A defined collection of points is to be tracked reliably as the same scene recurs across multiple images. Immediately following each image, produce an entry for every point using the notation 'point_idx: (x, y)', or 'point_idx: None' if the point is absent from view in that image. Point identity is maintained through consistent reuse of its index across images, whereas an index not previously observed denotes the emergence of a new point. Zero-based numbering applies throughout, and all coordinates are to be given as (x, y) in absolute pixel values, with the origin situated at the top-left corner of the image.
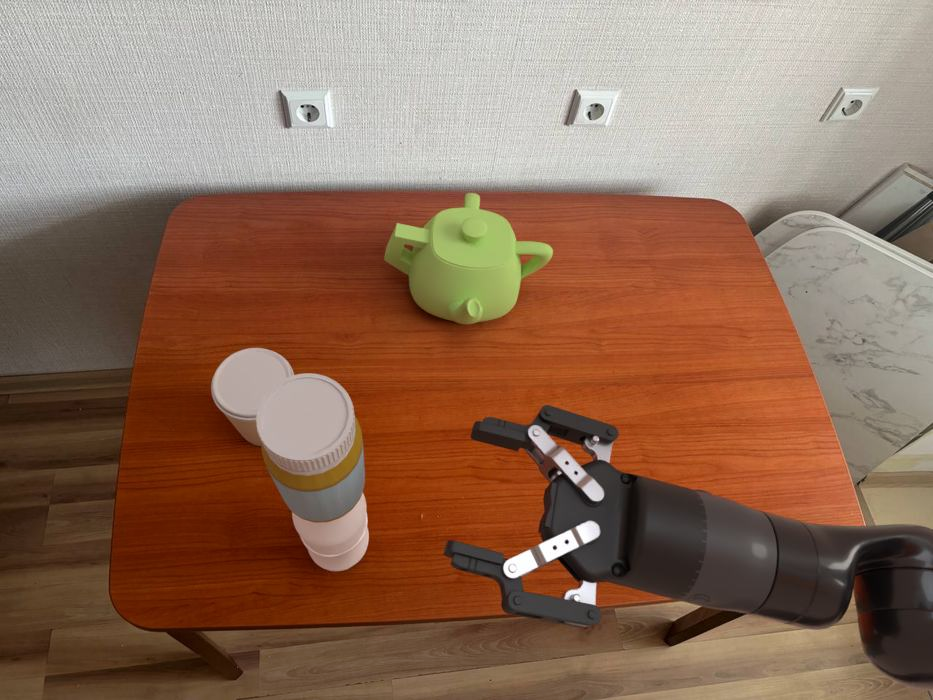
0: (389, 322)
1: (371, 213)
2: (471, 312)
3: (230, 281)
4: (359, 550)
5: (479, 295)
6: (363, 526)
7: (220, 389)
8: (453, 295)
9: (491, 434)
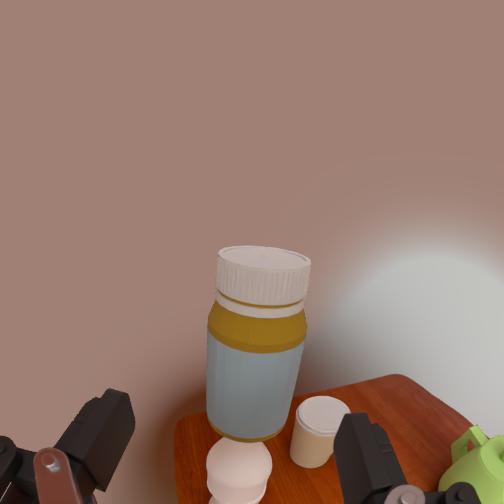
0: (415, 481)
1: None
2: None
3: (380, 404)
4: None
5: None
6: (233, 497)
7: (310, 401)
8: None
9: (353, 439)
